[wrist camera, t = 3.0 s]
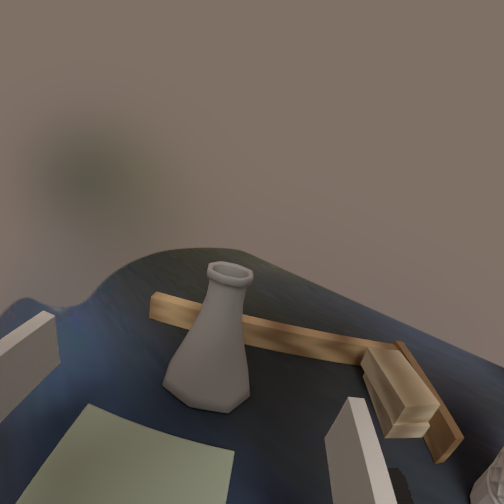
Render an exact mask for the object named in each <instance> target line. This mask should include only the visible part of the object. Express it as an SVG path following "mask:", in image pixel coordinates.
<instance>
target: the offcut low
mask: <svg viewBox="0 0 504 504" xmlns="http://www.w3.org/2000/svg"><path fill="white" fill-rule="evenodd" d="M363 379H364V381H365V384H366V387H367V389H368V392H369V395H370V398H371V400H372V403H373V406H374V409H375V411H376V414H377V417H378V420H379V423H380V426H381V429H382V432H383V434H384V437H385V438H420V437H423V435H424V434H425V433H426V432H427V430H428V429H429V427H430V424H429V422H421V423H411V424H400V425H393V423H392V421H391V419H390V417H389V415H388V414H387V412H386V410H385V408H384V406H383V404H382V402H381V401H380V399H379V397H378V395H377V393H376V391H375V390H374V388H373V386H372V384H371V382H370V381H369V379H368V377H367V375H366V373H364V375H363Z"/></svg>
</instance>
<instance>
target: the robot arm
mask: <svg viewBox="0 0 504 504" xmlns="http://www.w3.org/2000/svg"><path fill="white" fill-rule="evenodd" d="M59 364H60V357H59V349H58V341H57V332H56V321H55V316H54V315H52V314H50V313H48V312H46V311H42V312H41V313H39V314H37V315H36V316H34V317H33V318H31V319H30V320H28V321H27V322H25V323H24V324H23V325H21V326H20V327H18V328H17V329H15V330H14V331H12V332H11V333H9V334H8V335H6V336H5V337H4V338H2V339H1V340H0V423H1V422H2V421H3V420H4V419H5V418H6V417H7V415H8V414H9V413H10V412H11V411H12V410H13V409H14V408H15V407H16V406H17V405H18V404H19V403H20V402H21V401H22V400H23V399H24V398H25V397H26V396H27V395H28V394H29V393H30V392H31V391H32V390H33V389H34V388H35V387H36V386H37V385H38V384H39V383H40V382H41V381H42V380H43V379H44V378H45V377H46V376H47V375H48V374H49V373H51V372H52V371H53V370H54V369H55V368H56V367H57V366H58V365H59ZM325 445H326V452H327V459H328V467H329V474H330V482H331V490H332V498H333V504H414V503H413V500H412V498H411V493H410V490H408V488H409V487H408V484H407V481H406V478H405V476H404V475H403V474H402V473H401V471H400V470H399V469H398V468H387V467H386V463H385V460H384V457H383V454H382V451H381V447H380V444H379V441H378V438H377V435H376V432H375V429H374V426H373V423H372V420H371V417H370V414H369V411H368V408H367V405H366V402H365V400H364V398H354V397H348V398H347V400H346V402H345V404H344V405H343V407H342V409H341V411H340V413H339V414H338V416H337V418H336V420H335V421H334V423H333V425H332V427H331V428H330V430H329V432H328V433H327V435H326V437H325Z"/></svg>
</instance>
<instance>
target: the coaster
mask: <svg viewBox="0 0 504 504" xmlns="http://www.w3.org/2000/svg"><path fill="white" fill-rule="evenodd" d="M234 452H235V451H231V450H226V449H222V448H217V447H213V446H209V445H205V444H201V443H197V442H193V441H190V440H186V439H183V438H179V437H176V436H173V435H169V434H166V433H163V432H160V431H157V430H154V429H151V428H148V427H145V426H143V425H140V424H137V423H134V422H132V421H129V420H126V419H124V418H121V417H119V416H116V415H114V414H112V413H109V412H107V411H105V410H102V409H100V408H98V407H96V406H93V405H91V404H89V403H88V405H87V406H86V407H85V409H84V410H83V411H82V412H81V414H80V415H79V416H78V418H77V419H76V420H75V422H74V423H73V424H72V426H71V427H70V428H69V430H68V431H67V432H66V434H65V435H64V436H63V438H62V439H61V440H60V442H59V443H58V445H57V446H56V447H55V449H54V450H53V451H52V453H51V454H50V455H49V457H48V458H47V460H46V461H45V462H44V464H43V465H42V467H41V468H40V469H39V471H38V472H37V474H36V475H35V476H34V478H33V479H32V481H31V482H30V484H29V485H28V486H27V488H26V489H25V491H24V492H23V494H22V495H21V496H20V498H19V499H18V501H17V502H16V504H226V499H227V493H228V488H229V482H230V476H231V470H232V464H233V458H234Z"/></svg>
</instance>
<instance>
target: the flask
mask: <svg viewBox="0 0 504 504" xmlns="http://www.w3.org/2000/svg"><path fill="white" fill-rule="evenodd" d="M207 277H208V278H210V280H209V287H208V292H207V295H206V297H205V300H204V302H203V305H202V308H201V310H200V313H199V314H198V316H197V318H196V320H195V321H194V323H193V325H192V327H191V328H190V330H189V332H188V333H187V335H186V337H185V339H184V340H183V342H182V343H181V345H180V346H179V348H178V350H177V351H176V353H175V354H174V356H173V357H172V359H171V361H170V363H169V365H168V368H167V371H166V374H165V377H164V381H163V384H162V386H163V387H165V388H166V389H167V390H168V391H170V392H171V393H172V394H173V395H175V396H176V397H177V398H178V399H180V400H181V401H182V402H183V403H185V404H186V405H187V406H189V407H193V408H199V409H204V410H210V411H216V412H223V413H229V412H231V411H232V410H233V409H235V408H236V407H237V406H238V405H240V404H241V403H242V402H244V401H245V400H246V399H247V398H249V397H250V387H249V373H248V366H247V359H246V353H245V347H244V338H243V328H242V314H243V302H244V297H245V293H246V289H247V286H248V285H250V284H251V283H252V281H253V271H252V270H249V269H247V268H245V267H243V266H240V265H238V264H233V263H228V262H223V261H219V262H213V263H209V266H208V270H207Z"/></svg>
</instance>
